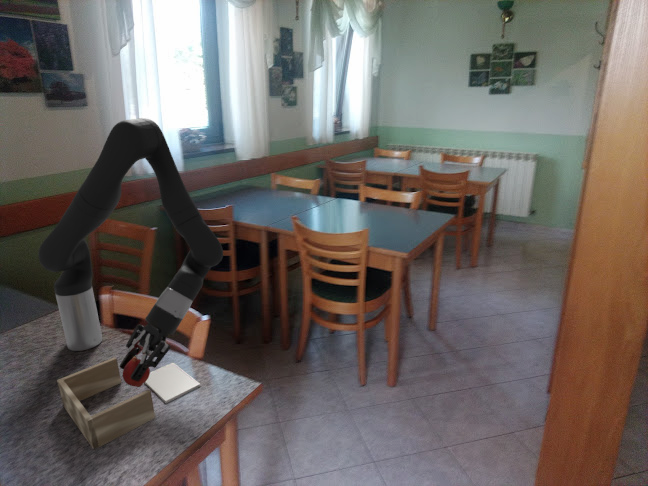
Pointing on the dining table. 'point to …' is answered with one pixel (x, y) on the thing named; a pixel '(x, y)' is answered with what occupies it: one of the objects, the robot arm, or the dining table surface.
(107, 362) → the open box
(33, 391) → the dining table surface
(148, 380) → the board
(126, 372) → the onion
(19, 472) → the dining table surface
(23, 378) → the dining table surface
